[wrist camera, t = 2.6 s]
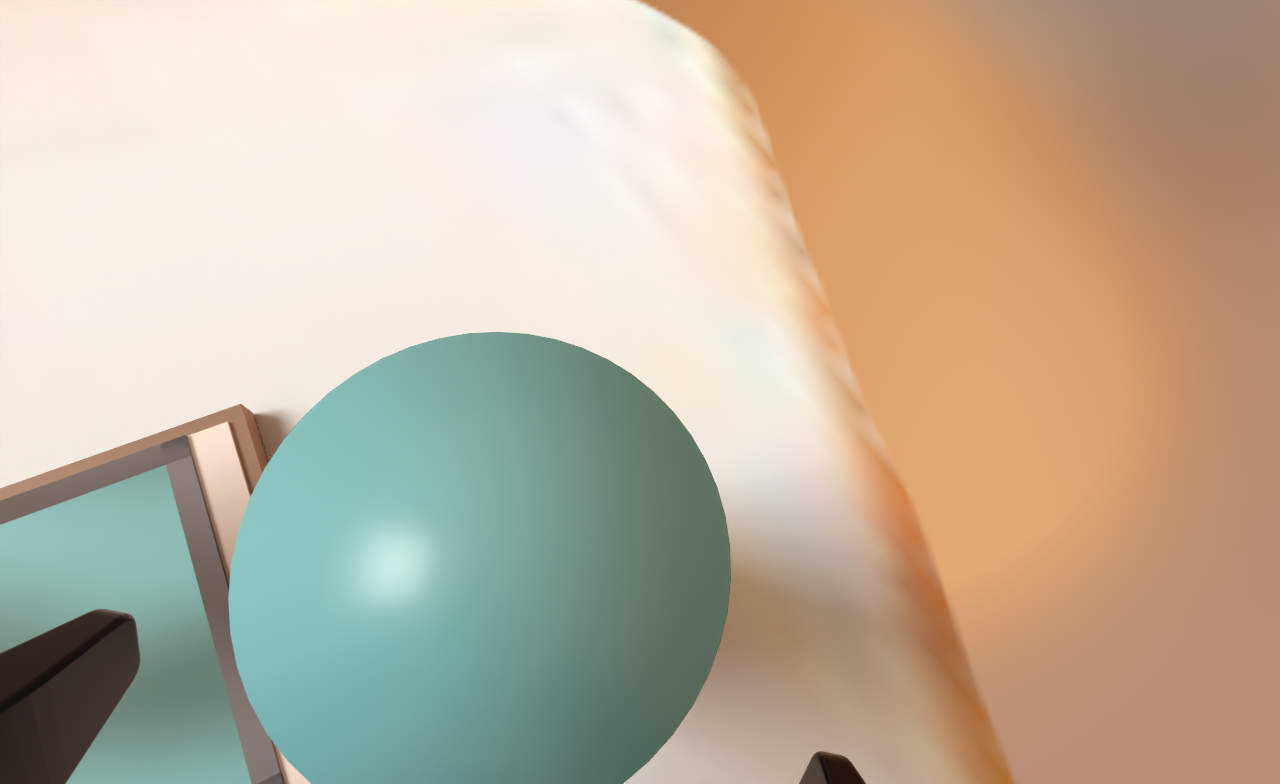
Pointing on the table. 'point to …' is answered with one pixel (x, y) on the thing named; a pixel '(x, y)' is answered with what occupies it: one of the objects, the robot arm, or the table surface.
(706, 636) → the teal rubber stamp
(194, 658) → the colouring board
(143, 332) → the table surface
